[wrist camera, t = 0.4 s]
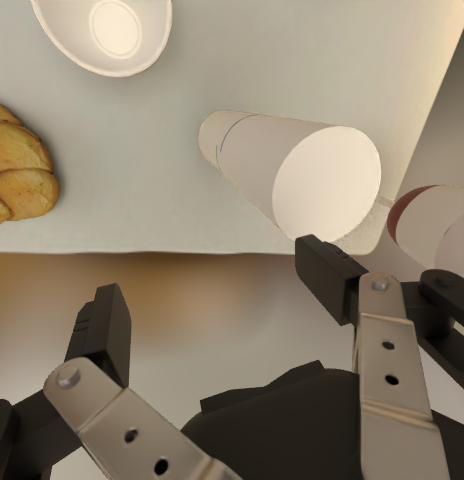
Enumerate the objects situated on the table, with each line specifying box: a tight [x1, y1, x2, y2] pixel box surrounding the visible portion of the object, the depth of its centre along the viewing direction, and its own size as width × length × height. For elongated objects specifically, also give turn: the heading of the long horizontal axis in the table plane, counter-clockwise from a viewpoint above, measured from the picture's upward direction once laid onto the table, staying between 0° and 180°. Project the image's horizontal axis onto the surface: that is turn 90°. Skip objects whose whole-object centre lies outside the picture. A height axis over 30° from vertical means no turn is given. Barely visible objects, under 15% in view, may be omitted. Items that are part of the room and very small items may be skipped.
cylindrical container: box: [198, 110, 381, 243], centre depth 28 cm, size 7×7×25 cm
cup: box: [30, 0, 172, 77], centre depth 26 cm, size 10×10×11 cm
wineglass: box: [375, 185, 464, 278], centre depth 37 cm, size 9×10×22 cm
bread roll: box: [0, 105, 60, 224], centre depth 30 cm, size 13×10×8 cm
